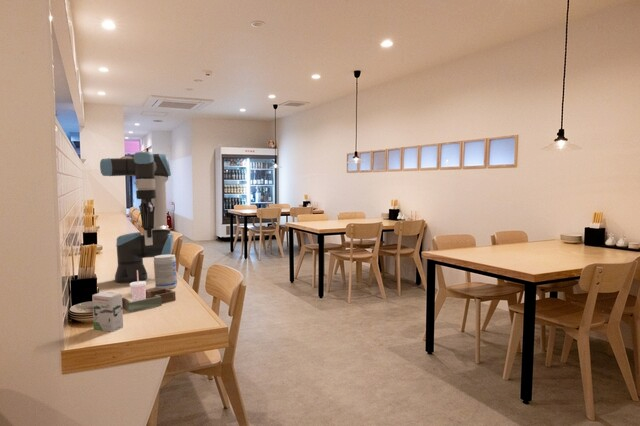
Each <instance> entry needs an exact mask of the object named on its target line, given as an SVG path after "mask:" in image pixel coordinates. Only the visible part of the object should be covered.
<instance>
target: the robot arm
mask: <svg viewBox="0 0 640 426" xmlns="http://www.w3.org/2000/svg"><path fill="white" fill-rule="evenodd" d="M99 169H100V174H101V175H102V176H103V177H123V176H124V177H126V176H127V177H128V176H129V177H130V176H131V177H134V178H135V181H134V185H135V189H136V190H135V194H136V200H140V201H141V202H140V203H139V204H140V205H139V206H138V208H139V211H140V212H139V214H140V220H141V221H140V222H141V227H142V229H143V232H144V234H142V232H141V231H138V232H130V233H127V234H126V233H125V234H122V235H119V236H117V237H116V245H115V247H116V255H117V258H116V259H117V267H116V271H115V274H114V282H116V283H123V284H124V283H125V284H127V283H132V282H137V270H138V278H139V281H146V280H147V279H148V277H149V276H148V272H147V270H146V267H145V265H144V259H147V258H149V259H150V258H154V257H155V256H158V255H167V254H172V252H173V247H174V233H172V232H171V230H170V228H168V222H167V220H168V219H167V191H166V182H167V181H169V177H171V176H172V172H171V171H172V170H171V166H170V161H169V157H168V155H167V154H163V153H153V152H148V151H140V152H139V151H138V152H135V153H134V154H129V155H124V156H121V157H120V158H119V157H117V158H116V157H115V158H113V157H112V158H110V157H108V158H102V159H101V160H100V162H99Z"/></svg>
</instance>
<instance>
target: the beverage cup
mask: <svg viewBox="0 0 640 426" xmlns="http://www.w3.org/2000/svg"><path fill="white" fill-rule="evenodd" d="M129 286H130V292H131V299H132V301H131V302H133V301H138V300H143V299H146V290H147V287H146V286H147V280H141V281H139V278H138V270H137V281H136V282H129Z"/></svg>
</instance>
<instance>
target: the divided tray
mask: <svg viewBox="0 0 640 426" xmlns="http://www.w3.org/2000/svg"><path fill="white" fill-rule="evenodd" d="M176 299H177V298H176V291H174V290H172V289H171V288H170V289H168V288H165V289H154V290H148V289H146V299H143V300H138V301H131V300H128V299H127V298H126V297H123V296H122V309H124V310H126V311H127V312H129V313H132V312H133V313H134V312H138V311H143V310H147V309H151V308H156V307H157V308H158V307H161V306H162V304H164V303H165V304H166V303H169V302H174V301H177V300H176Z"/></svg>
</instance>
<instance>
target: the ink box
mask: <svg viewBox="0 0 640 426" xmlns="http://www.w3.org/2000/svg"><path fill="white" fill-rule="evenodd" d="M122 298H123V293H121V292H116V291H115V292H114V291H107V290H104V291H100V292H98V293H94V294H92V319H93V330H95V331H96V330H97V331H101V332H102V331H104V332H110V333H113V332H116V331H118V330H120V329H123V328H124V316H123V315H124V314H123V312H124V311H123V307H122Z"/></svg>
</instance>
